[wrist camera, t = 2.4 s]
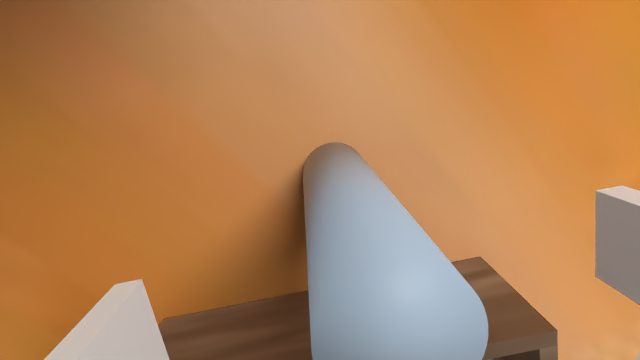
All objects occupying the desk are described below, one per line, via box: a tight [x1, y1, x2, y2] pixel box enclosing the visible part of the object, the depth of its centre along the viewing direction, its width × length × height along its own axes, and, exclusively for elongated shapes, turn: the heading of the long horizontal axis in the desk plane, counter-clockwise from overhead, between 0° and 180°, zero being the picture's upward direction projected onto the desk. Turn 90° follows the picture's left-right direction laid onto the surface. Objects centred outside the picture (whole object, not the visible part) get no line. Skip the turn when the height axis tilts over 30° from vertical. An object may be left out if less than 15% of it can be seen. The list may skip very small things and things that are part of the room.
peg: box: [303, 143, 488, 360], centre depth 14 cm, size 4×4×14 cm
